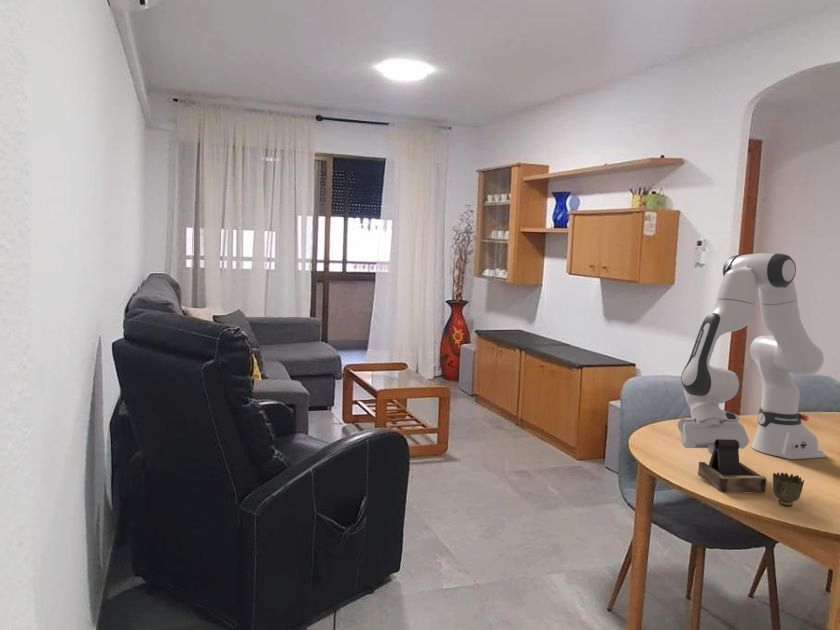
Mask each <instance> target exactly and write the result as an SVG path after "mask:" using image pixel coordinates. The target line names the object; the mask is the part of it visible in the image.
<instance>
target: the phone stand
mask: <svg viewBox="0 0 840 630" xmlns="http://www.w3.org/2000/svg"><path fill="white" fill-rule="evenodd" d="M739 451H740V449H739V442H738V441H736V440H725V439H716V440H715V446H714V450H713V453H712V454H711V457H710V459H709V462H708V465H709V466H710V467H712V468H713V469H715V470H716V471H717V472H719V473H720V474H722V475H731V476H741V475H740V464H739V463H740V455H739Z"/></svg>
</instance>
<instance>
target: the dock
mask: <svg viewBox="0 0 840 630" xmlns="http://www.w3.org/2000/svg"><path fill="white" fill-rule="evenodd" d="M739 464H740V475H741V476H731V475H722V474H720V473H719V472H717V471H716V470H715V469H713V468H712V467H710V466H709V464H707V463H706V462H705V461H699V462H698V469H697V470H698V471H697V476H699V477H700V476H701V477H700V478H701V479H702V480H704V479H705V480H704V481H706V482H707V483H708V482H709V484H710V485H711V486H712V487H713V488H715V489H716V490H717V491H719V492H720V493H744V492H756V493H758V494H759V493H766V490H767V489H766V487H767V478H768V477H766V476H764V475H762V474H761V475H760V474H759V473H758V472H757V471H755V470H753V469H751V468H750V467H748V466H746V465H745V464H743V463H742V462H739ZM756 493H755V494H756Z"/></svg>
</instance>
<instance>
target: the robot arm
mask: <svg viewBox="0 0 840 630" xmlns="http://www.w3.org/2000/svg"><path fill="white" fill-rule="evenodd" d="M796 273H797V265H796V262H795V261H794V260H793V258H792V257H791V256H790V255H788V254H784V253H770V252H769V253H766V252H763V253H762V252H759V253H751V254H749V253H748V254H744V255H743V254H737V255H733V256H730V257H729V258H727V260H726V261H725V262H724V264H723V267H722V276H723V278H722V280H721V283H720V286H719V288H718V293H717V296H716V300H715V304H714V307H713V310H712V311H711V312H710V314H707V315H706V316H705V318H704V319H703V321H702V323H701V325H700V328H699V330H698V332H697V333H698V334H697V336H696V339H695V340H694V341H695V343H694V345H693V348H692V351H691V353H690V356H689V359H688V361H687V362H686V365H685V366H684V368H683V370H682V373H681V376H680V377H681V378H680V381H681V384H682V385H681V386H682V388H683V394H684V397H685V399H686V404H687V405H688V407H689V409H690V413H689V414H690V416H691V418H690V419H689V418H688V419H686V418H681V419H679V420H678V422H677V427H678V430H679V434H680V435H679V436H680V441H681V444H682V446H683V447H684V448H685V449H707V451H708V453H710V454H711V455H712V453H713V450H714V446H715V440H716V439H725V440H736V441H738V442H739V450H740V449H742V450H743V449H745V448H746V447H747V446H748V445H749V443H750V440H749V439H750V438H749V436H748V434H747V432H746V429H745V427H744V426H743V424H742V423H740V422H739V421H740V416H739V415H738V414H736V413H733V412H729V411H726V410H724V409H721V407H720V404H724V403H726V402H729V401H731V400H732V399H734V398H735V397H736V396H737V395H738V393H739V392H740V387H741V381H740V379H739V376H738V375H737V373H735V372H734V371H731V370H729V369H726V368H720V367H716V366H711V365H710V361H711V358H712V354H713V353H714V350H715V347H716V343H717V341H718V340H719V338H720V337H721V336H723V335H725V334H727V333H733V332H736V331H740V330H742V329H744V328H745V327H747V326H748V325H749V324H750V323H751V321H752V318H753V315H754V311H755V307H756V301H757V289H758V299H759V309H760V315H761V322H762V325H763V326H764V327H765V328H766V329H767V330H768V331H769V333H771V335H759V336H757V337H755V338H754V339H753V340H752V342H751V345H750V347H749V354H750V357H751V359H752V360H753V361H754V362H755V364H756V366H757V368H758V371H759V374H760V378H761V384H762V385H761V386H762V389H761V392H762V393H761V401H760V402H761V403H760V404H761V405H760V407H759V410H758V415H757V418H758V419H757V421H758V425H757V430H756V433H755V436H754V438H753V442H752V444H751V448H752V449H753V450H755V451H757V452H760V453H762V454H766V455H771V456H776V457H779V458H783V459H787V460H802V459H818V458H825V457H826V453H825V452H824V451H823V450H821V448H819V441H818V440H819V439H818V438H817V436H816V435H815V434H814V433H813V432H812V431H811V430H809V429H808V428H807V427H806V426H805V425H804V424H803V423H802V421H804V422H808V421H809V419H810V418H809V416H808V415H807V414H804V413H802V414H801V413H800V412H799V403H800V394H801V393H800V388H799V387H798V385H797V384H796V383H795V382H794V381H793V379H792V375H791V374H794V375H800V376H801V375H804V376H806V375H807V376H808V375H809V376H811V375H815V374H817V373H818V372H819V371H820V370H821V368H822V367H823V365H824V357H825V356H824V353H823V351H822V349H821V348H819V347H818V346H817V345H816V344H815V342H813V341H812V340H811V337H810V336H809V335H808V333H807V331H806V330H805V329H806V328H804V324H803V322H802V320H801V315H800V309H799V301H798V295H797V290H796V285H795V282H794V278H795V277H796Z"/></svg>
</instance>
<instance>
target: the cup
mask: <svg viewBox="0 0 840 630" xmlns="http://www.w3.org/2000/svg"><path fill="white" fill-rule="evenodd" d="M804 484H805V479H803V480H802V477H800V476H799V475H798V474H797V475H793V473H791V474H790V476H789V474H788V473H787V472H785V473H784V472H781V473H780V472H777V473H775V472H773V473H772V487H773V488H772V489H773V493H774V496H775V497H776V498H778V499H777V502H778V505H779V506H782V507H785V508H792V507H793V505H794V502H796V501H798V500H799V499H800V497H801V495H802V491H803V487H804Z"/></svg>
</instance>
